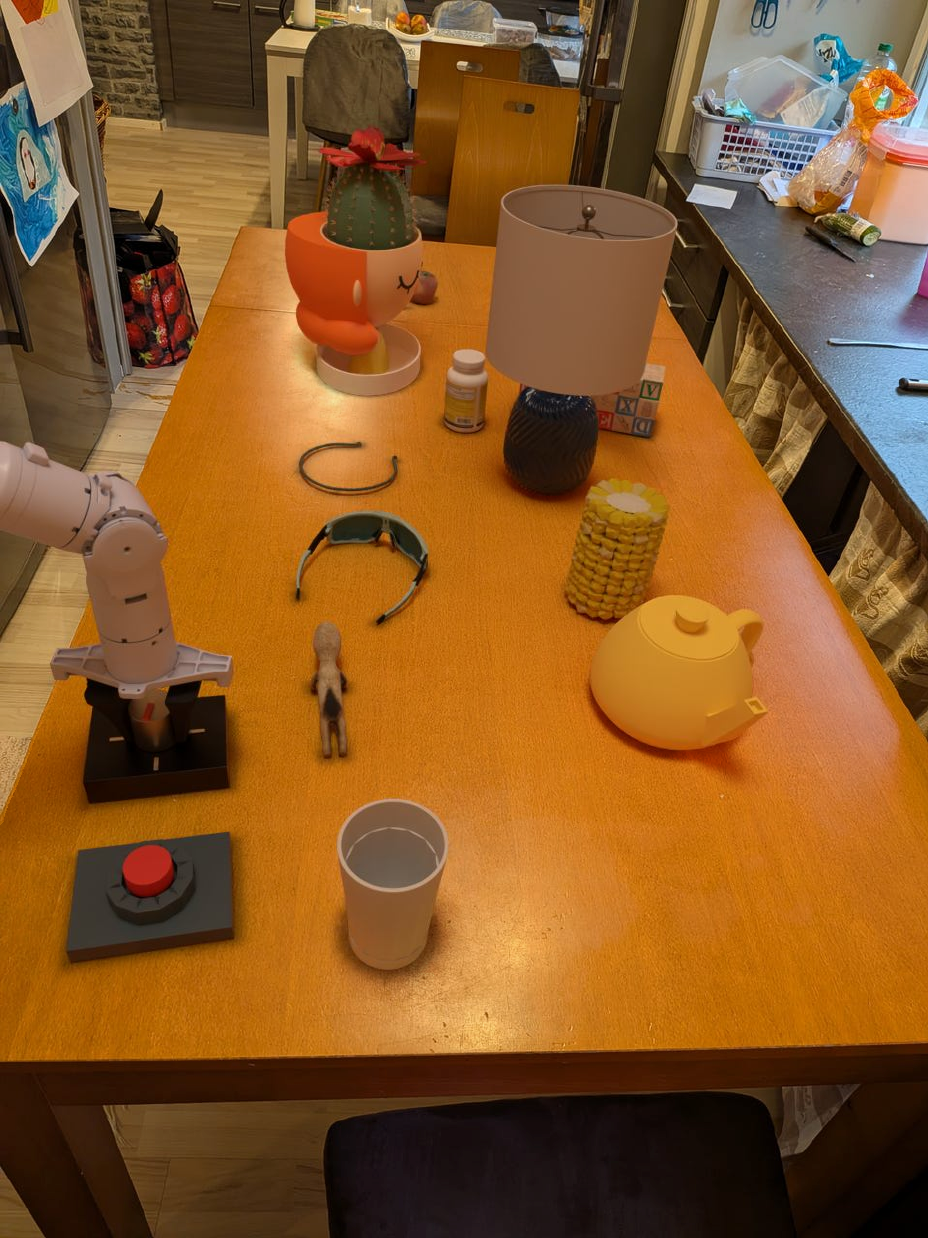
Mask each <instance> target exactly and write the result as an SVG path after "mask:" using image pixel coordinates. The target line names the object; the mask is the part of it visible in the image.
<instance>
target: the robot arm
mask: <svg viewBox="0 0 928 1238" xmlns="http://www.w3.org/2000/svg"><path fill="white" fill-rule="evenodd" d="M0 531H1V532H4V533H7V534H11V535H14V536H16V537H19V538H23V539H26V540H29V541H32V542H36V543H38V544H41V545H45V546H47V547H50V548H54V549H57V550H60V551H63V552H68V553H73V554H79V555H82V560H83V564H84V568H85V571H86V574H85V575H86V576H85V584H86V588H87V592H88V596H89V600H90V601H89V602H90V605H91V610H92V613H93V618H94V621H95V625H96V630H97V634H98V638H99V642H100V643H95V644H88V645H84V646H75V647H57V648H56V649H55V652H54V654H53V656H52V658H51V660H50V662H49V666H50V669H51V673H52V676H53V679H54V681H68V679H69V678H70V676H79V677H83V678H85V679H86V687H85V690H84V692H83V697H84V701H85V703H86V704H87V705H88V706H90V707H91V708H92V707H94V708H96V709H97V710H99V711H100V712H101V713H103V714H104V715H105V716H106V717H107V718H108V719H109V720H110V721H111V722H112V723H113V724H114V726H115V727H116V728H117V730H118V731H119V732H120V734H121V735H122V737H123V738H124V740H125V741H132V740H133V737H134V736H133V731H132V727H131V723H130V718H129V714H128V704H129V702H130V700H131V699H141V698H143V697H145V695H146V693H147V691H148V690H152V689H162V688H167V687H168V690H167V692H168V693H167V696H166V699H165V706H166V707H167V708H168V710H169V712H170V714H171V717H172V720H173V723H174V731H175V738H176V741H177V743H185V742H186V739H187V735H188V732H189V728H190V713H191V711H192V709H193V708H194V705H195V703H196V700H197V697H199V694H200V690H201V687H202V683H203V682H216V686H217V687H219V688H230V687H231V684H232V680H233V676H234V671H235V670H234V664H233V656H232V655H229V654H227V655H226V654H218V653H214V652H210V651H207V650H204V649H201V648H197V647H194V646H191V645H187V644H184V643H182V642H178V641H176V637H175V632H174V626H173V619H172V613H171V606H170V601H169V595H168V589H167V584H166V577H165V571H164V568H163V566H162V564H161V563H162V562H163V560H164V559H165V557H166V554H167V551H168V546H169V538H168V536H164V532H163V529H162V526H161V524H160V522H159V521H158V519H157V517H156V516H155V514H154V512H153V511H152V509H151V508H150V506H149V504H148V502H147V500H146V499H145V497H144V495H143V494H142V492H141V491H140V490H139V489H138V487H136V485H135V484H134V483H133V482H132V481H131V480H129V479H128V478H126V477H124V476H123V475H122V474H121V473H119V472H118V471H113V470H104V471H103V470H102V471H97V472H96V471H95V472H93V473H89V474H87V473H85V472H82V471H80V470H78V469H75V468H72V467H70V466H68V465H64V464H63V463H60V462H58V461H54V460H52V459H50V458H49V455H48V454H47V452H46V450H45V448H44V447H42V446H40V445H37V444H35V443H32V442H29V441H27V442H25V444H24V446H23V448H21V447H19V446H17V445H15V444H13V443H12V444H11V443H9V442H6V441H4V440H3V441H2V440H0Z"/></svg>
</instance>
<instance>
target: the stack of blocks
mask: <svg viewBox="0 0 928 1238" xmlns="http://www.w3.org/2000/svg"><path fill="white" fill-rule="evenodd" d="M665 373H666V366H665V365H661V364H653V363H646V364H645V369H644V373H643V376H642V378H641V379H640V381H638V382H637V383H636V384H635V385H633V386H632V387H630V388H628V389H625V390H622V391H619V392H615V393H610V394H604V395H591V396H590V397H592V398H593V400H594V402H595V404H596V408H597V412H598V423H599V427H598V429H603V430H608V431H612V432H618V433H624V434H628V435H629V434H630V435H634V436H639V437H646V438H651V436H652V433H653V427H654V424H655V421H656V417H657V414H658V413H657V412H658V407H659V404H660V399H661V394H662V392H663V391H662V390H663V386H664V382H665ZM526 387H528V386H526V385H523V384H521V383H519V391H518V395H519V394H520V393H521V391H522V390H523V389H525V388H526Z"/></svg>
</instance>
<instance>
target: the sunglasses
mask: <svg viewBox="0 0 928 1238" xmlns="http://www.w3.org/2000/svg"><path fill="white" fill-rule="evenodd" d="M383 533H384V534H387V535H388V537H389V541H390V546H391V548H393V549H395V548H396V547H397V548H398V549H399V551H401V553H402V554H403V555H405V556H406V557H408V558H409V559H411V560H412V561H413V562H414V563H415V564H416V565H417V566H418V567H419V569H418V572H417V573H416V576H415V578H414V579H413V580H412V581H411V585H410V588H409V589H408V591H407V592H406V594H404V596H403V598H401V600H400V601H399V602H398V603H396V605H395V606H393V607H392V608H391V609H389V610H387V611H386V612H385V613H383V614H382V615H380V616H379V617H378V618H377V620H375V622H376V624H378V625H380V624H381V623H382V622H384V621H385V620H386V619H387V618H389V617H391V616H392V615H394V613H396V612H398V611H399V610H400V609H401V608H402V607H403V606H404V605H405V604H406V603H407V602H408V601H409V600H410V598H411V597H412V596H413V594H414V591H415V589H416V587H419V585H420V584H421V581H422V580H423V579H424V576H425V573H426V571H427V569H428V567H429V549H428V545H427V543H426V541H425V540H424V538H423V536H422V535H421V534H420V532H419V531H418V530H416V528H414V527H413V525H411V524H410V523H409V522H407V521H406V520H404V519H402V517H401V516H398V515H395V514H392V513H390V512H387V511H383V510H378V509H377V510H376V509H375V510H356V511H350V512H346V513H343V514H340V515H337V516H335V517H332V518H330V519H329V520H327V521H325V522H324V526H323V527H322V528H321V529H320V530H319V532H318V533H317V535H315V537H314V538H313V540H312V541H311V543H310V545H309V546H308V548H307V550H306V551H305V552H304V553H303V554H302V556H301V559H300V562H299V565H298V567H297V572H296V595H295V598H296V599H297V600H298V599H300V595H301V575H302V572H303V569H304V566H305V564H306V562H307V560H309V558H310V557H311V555H313V554H314V552H315V550H316V549H317V548H318V546H319V545H320V543H321V542H322V541H323V540H325V538H326V542H328V543H330V544H333V545H338V544H349V543H351V544H355V543H356V544H367V543H370V542H371V543H372V542H374V543H378V542H379V541H380V539H381V537H382V535H383Z"/></svg>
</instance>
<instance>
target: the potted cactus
mask: <svg viewBox="0 0 928 1238" xmlns="http://www.w3.org/2000/svg"><path fill="white" fill-rule="evenodd" d="M350 140H351V141H350V142H349V143H348V145H347V149H348V151H345V150H342V149H339V148H335V147H327V146H324V147H319V148H318V153H320V154H323V155H325V158H326V159H325V161H326V162H329V163H330V164H332V165H334V166H335V167H337V168H339V169H340V170H339V169H337V171H336V175H334V178H335V179H336V181H334V179H333V178H332V180H330V183H331V185H328V189H327V192H329V193H327V195H326V197H327V196H328V197H329V198H325V199H324V202H323V204H324V206H326V207H324V209H323V211H318V212H317V211H315V212H310V213H306V214H302V215H298V216H297V217H294V218H292V219H291V220H290V221H289V222H288V223H287V224H288V225H287V229H286V234H285V240H284V259H285V264H286V265H285V267H286V271H287V275H288V279H289V282H290V285H291V287H292V289H293V291H294V294H295V295H296V296H297V298H298V301H299V302H298V303H297V304H296V308H295V319H296V323H297V326H298V328H299V330H300V331H301V333H302V334H303V335H304V336H305V338H306V339H308V340H309V341H310V342H311V343H312V344H315V345H316V348H315V349H316V372H317V375H318V377H319V379H320V380H321V381H322V382H323V383H325V385H327V386H329V387H330V388H332V389H334V390H336V391H338V392H341V393H344V394H348V395H354V396H355V395H356V396H365V397H366V396H369V397H370V396H381V395H388V394H391V393H394V392H397V391H399V390H402V389H404V388H406V387H408V386H409V385H411V384H412V383H413V382H414V381H415V380H416V379H417V378H418V375H419V374H420V371H421V370H420V369H421V351H422V346H421V343H420V341H419V339H418V338H417V337H416V335H414V334H413V333H412V331H411V332H410V331H409V330H408V329H406V328H404V327H402V326H400V325H399V326H398V325H396V324H393V323H389V322H391V321H393V320H394V319H396V318H397V317H398V316H399V315H400V314H401V313H402V312H403V311H405V310H406V309H407V306H408V305H409V303H410V301H412V300H411V298H412V296H413V294H414V295H415V294H417V292H418V290H419V285H420V282H419V278H420V273H421V271H422V267H423V264H424V262H423V256H424V254H423V252H424V249H423V247H424V246H423V237H422V232H421V230H420V228H418V224H415V223H418V222H419V220H417V217H416V218H413V216H418V215H419V214H418V211H417V208H412V207H415V204H416V201H415V199H416V197H415V196H416V195H415V194H414V193H413V191H412V189H411V188H412V187H410V182H407V183H406V179H405V178H406V174H405V173H406V172H405V173H404V172H402V173H403V174H402V175H400V171H405V170H406V168H404V167H411V166H412V167H413V166H414V167H415V166H423V165H426V164H427V161H424V160H422V159H420V158H419V159H417V157H419V156H420V155H421V154H420V153H419V152H407V151H405V150H402V149H398V148H397V146H396V145H395V144H392V143H387V144H385V136H384V134H383V132H382V131H381V130H380V129H379V128H377V127H375V126H373V125H370V126H367V127H366V128H365V129H357V130H355V131H354V132H353V133H352V134H351V139H350ZM349 151H350V152H349ZM399 166H400V167H399ZM340 172H341V173H340ZM405 183H406V184H405ZM410 189H411V190H410ZM410 191H411V192H410ZM409 192H410V193H409ZM413 196H414V198H411V199H410V197H413ZM327 202H328V203H327Z"/></svg>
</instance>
